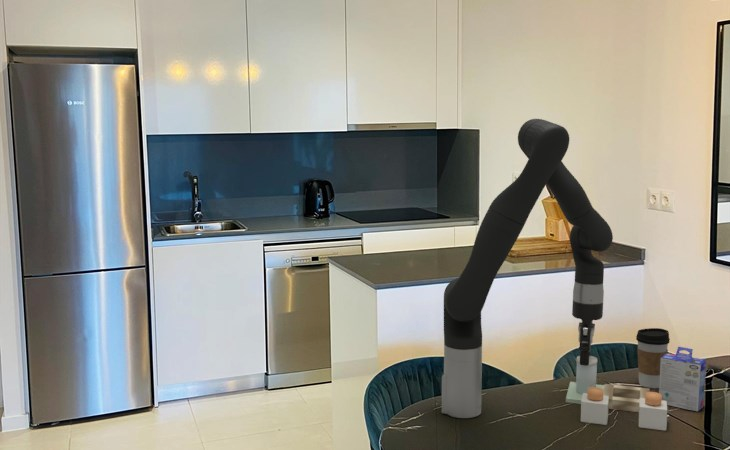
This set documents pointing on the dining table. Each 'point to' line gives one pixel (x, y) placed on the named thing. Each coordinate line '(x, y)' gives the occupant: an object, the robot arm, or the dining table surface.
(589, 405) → the plunger posts
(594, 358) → the canister
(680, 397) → the ink cartridge box
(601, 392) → the plunger left
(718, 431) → the dining table surface
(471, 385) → the robot arm
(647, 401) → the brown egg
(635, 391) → the collar
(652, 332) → the coffee cup
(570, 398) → the mat
